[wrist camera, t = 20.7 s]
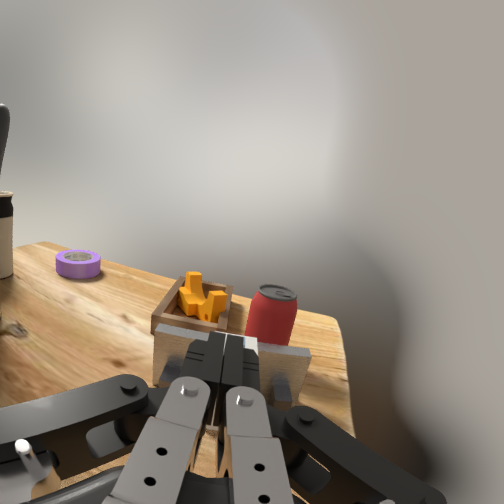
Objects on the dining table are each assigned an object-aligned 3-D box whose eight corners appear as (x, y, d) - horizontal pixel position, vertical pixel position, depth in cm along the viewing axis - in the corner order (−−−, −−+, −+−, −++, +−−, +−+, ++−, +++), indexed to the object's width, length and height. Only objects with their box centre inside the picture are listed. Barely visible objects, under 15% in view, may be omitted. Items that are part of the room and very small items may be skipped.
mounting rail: (146, 398, 30) (146, 343, 28) (162, 363, 38) (165, 313, 36) (297, 423, 31) (316, 371, 29) (289, 385, 39) (304, 337, 37)
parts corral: (150, 333, 45) (151, 314, 44) (178, 290, 65) (180, 276, 65) (223, 348, 45) (226, 329, 45) (230, 300, 66) (233, 286, 65)
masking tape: (60, 281, 55) (60, 264, 54) (52, 264, 62) (52, 249, 61) (106, 277, 63) (107, 262, 63) (92, 262, 71) (93, 248, 70)
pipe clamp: (175, 301, 59) (178, 271, 57) (193, 300, 61) (198, 271, 60) (200, 330, 49) (205, 295, 48) (221, 327, 52) (227, 294, 51)
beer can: (275, 380, 39) (295, 304, 37) (232, 365, 41) (247, 290, 39) (286, 359, 45) (304, 291, 43) (248, 347, 47) (262, 279, 45)
